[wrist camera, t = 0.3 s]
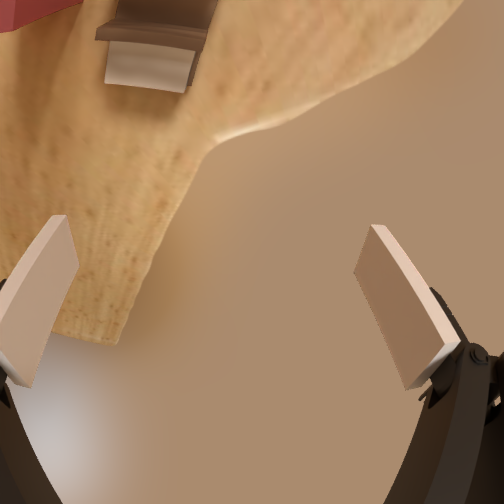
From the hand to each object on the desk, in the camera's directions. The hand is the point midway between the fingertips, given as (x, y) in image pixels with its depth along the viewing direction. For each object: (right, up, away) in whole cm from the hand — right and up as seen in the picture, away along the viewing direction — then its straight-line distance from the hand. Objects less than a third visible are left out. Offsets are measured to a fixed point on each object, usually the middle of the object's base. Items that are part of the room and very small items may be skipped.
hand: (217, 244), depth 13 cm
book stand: (-8, +25, +11) cm, 28 cm away
